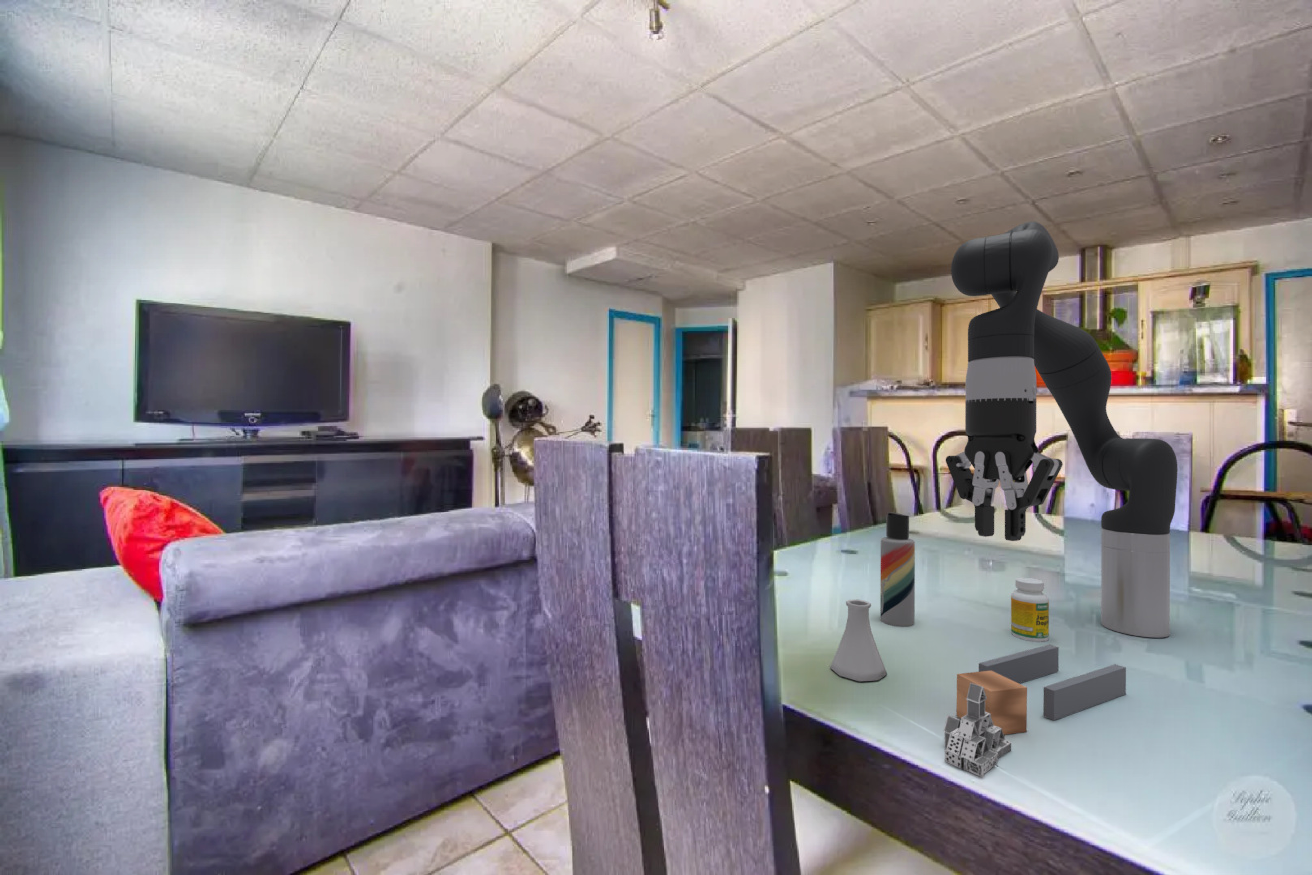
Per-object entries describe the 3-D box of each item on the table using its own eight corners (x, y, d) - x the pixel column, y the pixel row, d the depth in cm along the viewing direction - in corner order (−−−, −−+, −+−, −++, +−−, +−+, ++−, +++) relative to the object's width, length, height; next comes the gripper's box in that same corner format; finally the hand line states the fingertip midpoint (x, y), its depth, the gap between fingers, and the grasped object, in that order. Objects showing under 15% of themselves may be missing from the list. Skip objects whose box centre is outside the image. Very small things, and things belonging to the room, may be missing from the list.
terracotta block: (990, 711, 71) (991, 670, 71) (1026, 731, 66) (1027, 687, 66) (956, 715, 69) (956, 673, 69) (990, 736, 64) (990, 691, 64)
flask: (859, 687, 77) (860, 612, 77) (820, 668, 84) (820, 599, 84) (896, 677, 81) (897, 605, 81) (856, 659, 87) (856, 593, 87)
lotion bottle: (874, 618, 107) (875, 510, 107) (904, 618, 107) (904, 510, 107) (889, 628, 101) (890, 514, 101) (920, 628, 102) (921, 514, 102)
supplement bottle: (1020, 630, 101) (1020, 575, 101) (1054, 639, 96) (1055, 581, 96) (1004, 635, 98) (1004, 579, 98) (1039, 645, 93) (1039, 585, 93)
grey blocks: (1049, 668, 84) (1049, 644, 84) (1125, 694, 75) (1125, 667, 75) (978, 689, 77) (978, 663, 77) (1054, 720, 68) (1054, 690, 68)
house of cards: (940, 718, 69) (940, 654, 70) (1020, 749, 63) (1020, 678, 63) (899, 742, 64) (899, 672, 64) (981, 779, 57) (981, 701, 57)
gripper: (929, 399, 76) (929, 531, 76) (1041, 392, 63) (1040, 550, 63) (966, 401, 79) (966, 528, 79) (1079, 395, 67) (1079, 545, 67)
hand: (999, 537), depth 71 cm, fingers open, 3 cm apart
